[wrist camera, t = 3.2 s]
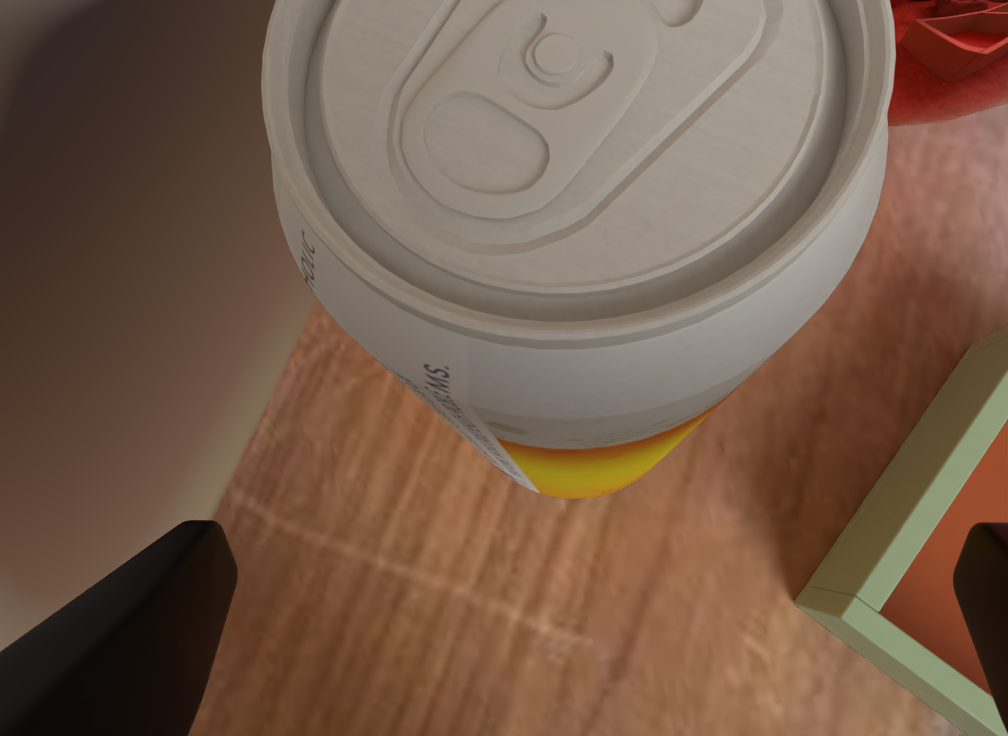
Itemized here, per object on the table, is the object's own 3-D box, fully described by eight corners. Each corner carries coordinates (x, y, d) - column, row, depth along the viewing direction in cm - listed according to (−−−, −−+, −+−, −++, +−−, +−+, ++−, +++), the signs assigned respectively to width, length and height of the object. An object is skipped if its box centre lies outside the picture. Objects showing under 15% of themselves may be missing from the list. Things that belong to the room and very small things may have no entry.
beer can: (721, 374, 20) (1101, -58, 5) (595, 545, 19) (650, 567, 5) (553, 260, 21) (502, -329, 7) (429, 415, 21) (77, 122, 6)
